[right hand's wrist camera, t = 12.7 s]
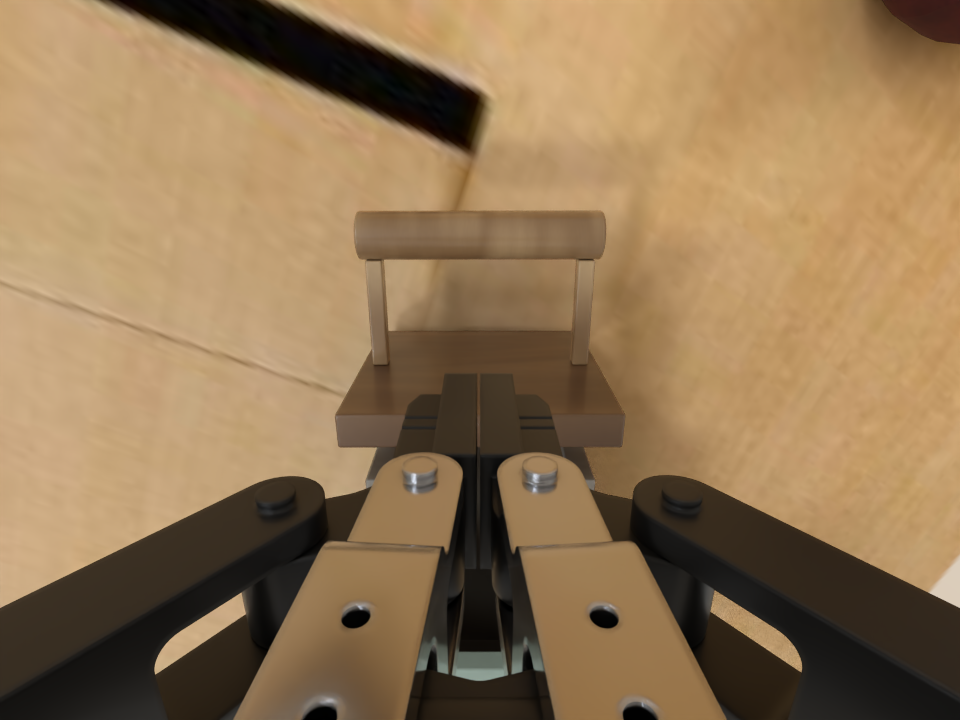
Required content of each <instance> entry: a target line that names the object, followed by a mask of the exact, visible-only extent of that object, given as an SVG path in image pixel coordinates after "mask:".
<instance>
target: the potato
mask: <svg viewBox="0 0 960 720" xmlns="http://www.w3.org/2000/svg"><path fill="white" fill-rule="evenodd" d="M883 2H884V4H885V6H886V7H887V8H888V9H889V10H890V12H891V13H892V14H893V15H894V16H895V17H897V18H898V19H900V20H901V21H902V22H904V23H905V24H907V25H908V26H910V27H911V28H912V29H914V30H915V31H917V32H918V33H919V34H921V35H923V36H925V37H928V38H930V39H933V40H935V41H938V42H946V43H955V44H960V0H883Z"/></svg>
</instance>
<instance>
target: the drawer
mask: <svg viewBox="0 0 960 720" xmlns="http://www.w3.org/2000/svg"><path fill="white" fill-rule="evenodd" d="M354 241H355V248H356V252H357V255H358V257H359V258H360V259H362V260H366V261H365V267H366V280H367V293H368V306H369V319H370V332H371V345H372V350H371V351H370V353H369V355H368V357H367V359H366V360H365V362H364V364H363V366H362V368H361V369H360V371H359V373H358V375H357V377H356V378H355V380H354V382H353V384H352V386H351V388H350V389H349V391H348V393H347V395H346V397H345V398H344V400H343V402H342V404H341V406H340V407H339V409H338V411H337V413H336V415H335V421H336V430H337V440H338V446H339V447H377V450H376V453H375V455H374V458H373V461H372V464H371V467H370V470H369V472H368V475H367V478H366V489H367V488H369V487H371V486H372V485H373V483H374V481H375V478H376V476H377V474H378V472H379V470H380V469H381V468H382V467H383V465H385V464H386V463H387V462H389V461H390V460H392V459H393V456H394V453H395V449H396V446H397V442H398V439H399V435H400V431H401V429H402V424H403V421H404V419H405V414H406V410H407V407H408V404H410V403H411V402H412V401H413V400H414V399H416V398H417V397H418V396H419V395H420V394H441V393H442V387H443V380H444V374H445V373H477V549H476V569H465V573H464V615H463V623H462V630H461V638H460V646H459V652H501V646H500V638H499V630H498V623H497V615H496V593H495V591H494V588H493V585H492V569H480V373H512V374H513V380H514V387H515V394H537V395H538V396H539V397H540V398H541V399H543V400H544V401H545V402H546V403H547V404H549V407H550V411H551V414H552V419H553V422H554V425H555V429H556V433H557V436H558V440H559V444H560V447H561V451H562V455H563V458H566V459H568V460H570V461H571V462H573V463H574V464H575V465H577V467H578V468H579V469H580V470H581V472H582V474H583V476H584V478H585V481H586V483H587V485H588V487H589V489H591V490H594V488H595V478H594V476H593V473H592V470H591V467H590V464H589V461H588V458H587V456H586V453H585V450H584V447H621V446H622V443H623V433H624V424H625V414H624V412H623V410H622V408H621V407H620V405H619V403H618V401H617V399H616V397H615V396H614V394H613V392H612V390H611V388H610V387H609V385H608V383H607V381H606V379H605V378H604V376H603V374H602V372H601V370H600V369H599V367H598V365H597V363H596V361H595V359H594V358H593V356H592V354H591V352H590V350H589V336H590V323H591V309H592V296H593V282H594V269H595V261H594V260H593V259H600V258H601V257H602V255H603V252H604V248H605V241H606V221H605V216H604V213H603V212H602V211H359V212H357V213H356V216H355V221H354ZM452 259H576V272H575V288H574V304H573V320H572V331H388V317H387V301H386V286H385V270H384V260H452Z"/></svg>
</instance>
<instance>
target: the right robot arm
mask: <svg viewBox="0 0 960 720" xmlns="http://www.w3.org/2000/svg"><path fill="white" fill-rule="evenodd" d="M476 549H477V373H445V374H444V380H443V387H442V393H441V394H420V395H419V396H418V397H417V398H416V399H414V400H413V401H412V402H411V403H410V404H408V407H407V410H406V414H405V419H404V421H403V424H402V429H401V431H400V435H399V439H398V442H397V446H396V449H395V453H394V456H393V459H392V460H390V461H389V462H387V463H386V464H385V465H383V467H382V468H381V469H380V470H379V472H378V474H377V476H376V478H375V481H374V483H373V485H372V486H371V487H369V488H367V489H364V490H362V491H359V492H356V493H352V494H348V495H343V496H338V497H333V498H328V499H325V493H324V490H323V488H322V487H321V485H320V484H319V483H317V482H316V481H314V480H311V479H308V478H305V477H298V476H287V477H278V478H272V479H268V480H265V481H262V482H259V483H256V484H254V485H252V486H250V487H248V488H246V489H244V490H242V491H239V492H237V493H235V494H233V495H231V496H229V497H227V498H225V499H223V500H221V501H219V502H217V503H215V504H213V505H211V506H209V507H207V508H205V509H203V510H201V511H198V512H196V513H194V514H192V515H190V516H188V517H186V518H184V519H182V520H180V521H178V522H176V523H174V524H172V525H170V526H168V527H166V528H164V529H162V530H159V531H157V532H155V533H153V534H151V535H149V536H147V537H145V538H143V539H141V540H139V541H137V542H135V543H133V544H131V545H129V546H127V547H125V548H123V549H120V550H118V551H116V552H114V553H112V554H110V555H108V556H106V557H104V558H102V559H100V560H98V561H96V562H94V563H92V564H90V565H88V566H86V567H84V568H82V569H79V570H77V571H75V572H73V573H71V574H69V575H67V576H65V577H63V578H61V579H59V580H57V581H55V582H53V583H51V584H49V585H47V586H45V587H43V588H40V589H38V590H36V591H34V592H32V593H30V594H28V595H26V596H24V597H22V598H20V599H18V600H16V601H14V602H12V603H10V604H8V605H6V606H4V607H1V608H0V720H960V608H958V607H956V606H954V605H952V604H950V603H948V602H946V601H944V600H942V599H940V598H938V597H936V596H934V595H932V594H930V593H928V592H926V591H924V590H922V589H919V588H917V587H915V586H913V585H911V584H909V583H907V582H905V581H903V580H901V579H899V578H897V577H895V576H893V575H891V574H889V573H887V572H885V571H883V570H881V569H878V568H876V567H874V566H872V565H870V564H868V563H866V562H864V561H862V560H860V559H858V558H856V557H854V556H852V555H850V554H848V553H846V552H844V551H842V550H839V549H837V548H835V547H833V546H831V545H829V544H827V543H825V542H823V541H821V540H819V539H817V538H815V537H813V536H811V535H809V534H807V533H805V532H803V531H801V530H798V529H796V528H794V527H792V526H790V525H788V524H786V523H784V522H782V521H780V520H778V519H776V518H774V517H772V516H770V515H768V514H766V513H764V512H762V511H759V510H757V509H755V508H753V507H751V506H749V505H747V504H745V503H743V502H741V501H739V500H737V499H735V498H733V497H731V496H729V495H727V494H725V493H723V492H720V491H718V490H716V489H714V488H712V487H710V486H708V485H706V484H704V483H701V482H699V481H696V480H693V479H690V478H686V477H680V476H672V475H660V476H653V477H649V478H646V479H644V480H642V481H641V482H639V483H638V484H637V485H636V487H635V489H634V492H633V500H632V499H627V498H622V497H617V496H612V495H607V494H603V493H600V492H597V491H594V490H591V489H589V487H588V485H587V483H586V481H585V478H584V476H583V474H582V472H581V470H580V469H579V468H578V467H577V465H575V464H574V463H573V462H571V461H570V460H568V459H566V458H563V455H562V451H561V447H560V444H559V440H558V436H557V433H556V429H555V425H554V422H553V419H552V414H551V411H550V407H549V404H547V403H546V402H545V401H544V400H543V399H541V398H540V397H539V396H538V395H537V394H515V387H514V380H513V374H512V373H480V569H492V585H493V588H494V591H495V593H496V615H497V623H498V630H499V638H500V646H501V653H502V661H503V669H504V676H503V677H498V678H494V679H490V680H485V681H475V680H470V679H466V678H462V677H457V676H456V669H457V661H458V653H459V646H460V638H461V630H462V623H463V615H464V573H465V569H476ZM714 590H716V591H717V592H719V593H720V594H722V595H724V596H725V597H727V598H728V599H730V600H731V601H733V602H735V603H736V604H738V605H739V606H741V607H742V608H744V609H746V610H747V611H749V612H750V613H752V614H753V615H755V616H757V617H758V618H760V619H761V620H763V621H765V622H766V623H768V624H769V625H771V626H772V627H774V628H776V629H777V630H778V631H780V632H781V633H782V634H784V635H785V636H786V637H787V638H788V639H789V640H790V641H791V642H792V644H793V645H794V646H795V648H796V650H797V651H798V653H799V655H800V658H801V661H802V673H801V672H800V671H798V670H796V669H795V668H793V667H792V666H790V665H789V664H787V663H786V662H784V661H783V660H782V659H780V658H779V657H777V656H776V655H774V654H773V653H771V652H770V651H768V650H767V649H765V648H764V647H762V646H761V645H759V644H758V643H756V642H755V641H753V640H752V639H750V638H749V637H747V636H746V635H744V634H743V633H741V632H740V631H738V630H737V629H735V628H734V627H732V626H731V625H729V624H728V623H726V622H725V621H723V620H722V619H720V618H719V617H717V616H716V615H714V614H713V613H711V612H710V610H711V605H712V600H713V595H714ZM241 592H242V597H243V602H244V607H245V612H246V615H244V616H243V617H241V618H240V619H238V620H237V621H235V622H234V623H232V624H231V625H229V626H228V627H226V628H225V629H223V630H222V631H220V632H219V633H217V634H216V635H214V636H213V637H211V638H210V639H208V640H207V641H205V642H204V643H202V644H201V645H199V646H198V647H196V648H195V649H193V650H192V651H190V652H189V653H187V654H186V655H184V656H183V657H181V658H180V659H178V660H177V661H175V662H174V663H173V664H171V665H170V666H168V667H167V668H165V669H164V670H162V671H161V672H159V673H157V674H156V675H155V672H154V667H155V662H156V659H157V657H158V655H159V653H160V651H161V649H162V648H163V647H164V645H165V644H166V643H167V642H168V641H169V640H170V639H171V638H172V637H173V636H174V635H176V634H177V633H178V632H180V631H181V630H183V629H184V628H186V627H188V626H189V625H191V624H192V623H194V622H195V621H197V620H199V619H200V618H202V617H203V616H205V615H207V614H208V613H210V612H211V611H213V610H214V609H216V608H218V607H219V606H221V605H222V604H224V603H225V602H227V601H229V600H230V599H232V598H233V597H235V596H236V595H238V594H240V593H241Z"/></svg>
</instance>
